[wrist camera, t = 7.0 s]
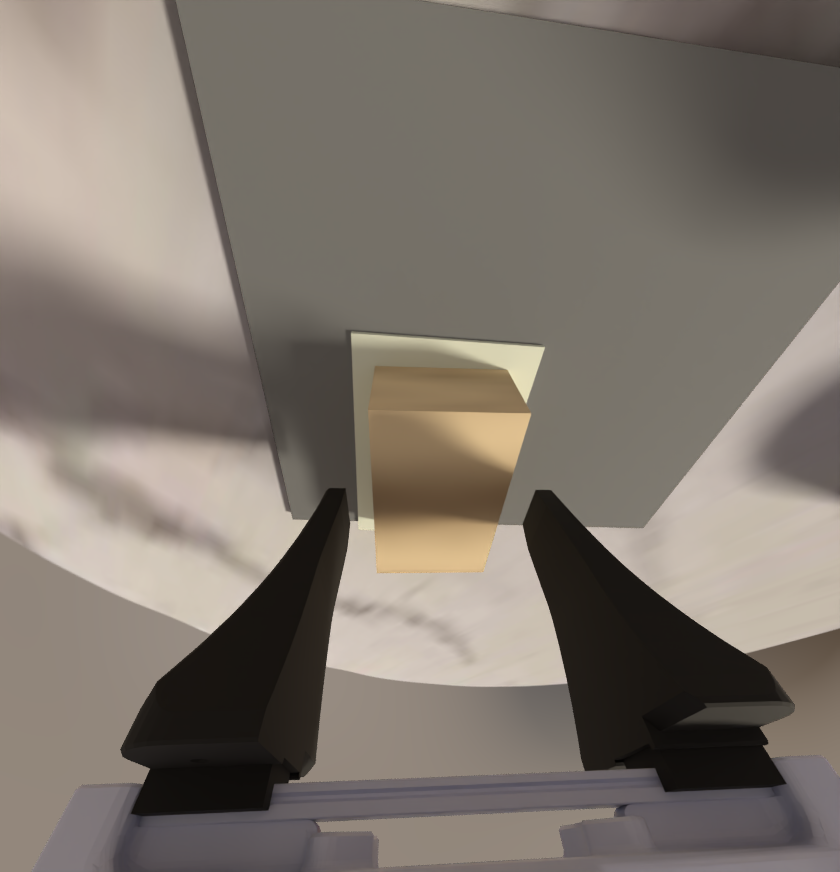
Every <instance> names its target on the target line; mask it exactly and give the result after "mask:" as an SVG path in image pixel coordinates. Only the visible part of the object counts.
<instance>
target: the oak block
mask: <svg viewBox="0 0 840 872" xmlns="http://www.w3.org/2000/svg"><path fill="white" fill-rule="evenodd" d="M530 417H531V412H530V410H529V408H528V406H527V404H526V403H525V401H524V399H523V397H522V395H521V394H520V392H519V390H518V388H517V386H516V385H515V383H514V381H513V379H512V377H511V376H510V374H509V372H508V370H497V369H462V368H427V367H392V366H375V369H374V376H373V382H372V388H371V394H370V401H369V407H368V419H369V438H370V456H371V474H372V492H373V510H374V528H375V546H376V564H377V573H440V572H483V571H484V568H485V564H486V561H487V558H488V555H489V551H490V548H491V545H492V541H493V538H494V535H495V532H496V528H497V525H498V522H499V518H500V515H501V512H502V509H503V505H504V502H505V499H506V495H507V492H508V489H509V486H510V482H511V479H512V476H513V472H514V469H515V466H516V463H517V459H518V456H519V453H520V450H521V446H522V443H523V440H524V436H525V433H526V430H527V427H528V423H529V420H530Z"/></svg>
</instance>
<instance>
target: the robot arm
mask: <svg viewBox="0 0 840 872" xmlns="http://www.w3.org/2000/svg"><path fill="white" fill-rule="evenodd" d="M523 528H524V533H525V537H526V542H527V546H528V550H529V553H530V556H531V559H532V561H533V564H534V567H535V570H536V573H537V576H538V578H539V581H540V584H541V587H542V590H543V592H544V595H545V598H546V601H547V604H548V606H549V610H550V613H551V616H552V619H553V623H554V627H555V631H556V635H557V639H558V643H559V647H560V651H561V656H562V660H563V664H564V669H565V673H566V678H567V683H568V688H569V693H570V697H571V702H572V707H573V713H574V718H575V724H576V730H577V735H578V741H579V748H580V754H581V759H582V763H583V766H584V769H585V771H574V772H550V773H526V774H503V775H478V776H455V777H431V778H407V779H382V780H358V781H334V782H312V783H288V782H289V780H299V779H300V777H304V776H305V775H306V774H307V773H308V772H309V771H310V770H311V768H312V767H313V766H314V764H315V761H316V750H317V740H318V730H319V721H320V711H321V702H322V694H323V685H324V676H325V668H326V660H327V652H328V644H329V637H330V629H331V622H332V616H333V611H334V606H335V602H336V597H337V593H338V588H339V584H340V579H341V575H342V571H343V566H344V562H345V557H346V552H347V547H348V538H349V529H350V518H349V510H348V502H347V494H346V488H329V489H327V490H326V492H325V494H324V496H323V498H322V499H321V501H320V503H319V505H318V506H317V508H316V510H315V511H314V513H313V515H312V516H311V518H310V519H309V521H308V522H307V524H306V525H305V527H304V528H303V530H302V531H301V533H300V534H299V536H298V537H297V539H296V540H295V542H294V543H293V544H292V546H291V547H290V548H289V550H288V551H287V552H286V554H285V555H284V556H283V558H282V559H281V560H280V562H279V563H278V564H277V565H276V566H275V568H274V569H273V570H272V571H271V573H270V574H269V575H268V576H267V577H266V578H265V580H264V581H263V582H262V583H261V584H260V585H259V586H258V588H257V589H256V590H255V591H254V592H253V593H252V594H251V595H250V596H249V597H248V598H247V599H246V601H245V602H244V603H243V604H242V605H241V606H240V607H239V608H238V609H237V610H236V611H235V612H234V613H233V614H232V615H231V616H230V617H229V618H228V619H227V620H226V621H225V622H224V623H223V624H222V625H220V626H219V627H218V628H217V629H216V630H215V631H214V632H213V633H212V634H211V635H210V636H209V637H208V638H207V639H206V640H205V641H204V642H202V643H201V644H200V645H199V646H198V647H197V648H196V649H195V650H193V652H191V653H190V654H189V655H188V656H186V657H185V658H184V659H183V660H182V661H181V662H179V663H178V664H177V665H176V666H175V667H174V668H172V669H171V670H170V671H169V672H168V673H167V674H165V675H164V676H163V677H162V678H161V679H160V680H159V681H157V683H156V684H155V686H154V688H153V689H152V691H151V693H150V694H149V696H148V698H147V699H146V701H145V702H144V704H143V706H142V707H141V709H140V711H139V713H138V715H137V717H136V719H135V721H134V723H133V725H132V727H131V729H130V731H129V733H128V735H127V737H126V739H125V741H124V743H123V745H122V747H121V749H120V750H121V753H122V756H123V757H124V758H126V759H128V760H130V761H133V762H135V763H138V764H140V765H143V766H146V767H148V768H150V770H149V773H148V775H147V777H146V780H145V782H144V784H135V783H118V784H93V785H81V786H80V787H78V788H77V789H76V790H75V792H74V794H73V796H72V797H71V799H70V801H69V803H68V805H67V807H66V808H65V810H64V812H63V814H62V816H61V818H60V820H59V821H58V823H57V825H56V827H55V829H54V831H53V832H52V834H51V836H50V838H49V840H48V842H47V843H46V845H45V847H44V849H43V851H42V853H41V855H40V856H39V858H38V860H37V862H36V864H35V866H34V868H33V869H32V871H31V872H840V777H839V776H838V774H837V773H836V772H835V770H834V769H833V768H832V766H831V765H830V764H829V762H828V761H827V760H826V758H825V757H823V756H821V755H808V756H785V757H776V758H770V757H769V755H768V753H767V752H766V750H765V749H764V747H763V745H767V744H768V740H767V738H766V737H765V735H764V734H763V732H762V731H761V729H760V728H759V727H761V726H763V725H766V724H769V723H771V722H774V721H777V720H779V719H782V718H784V717H786V716H789V715H790V714H792V713H793V712H794V709H795V704H794V703H793V702H792V700H791V699H790V698H789V696H788V695H787V694H786V692H785V691H784V690H783V688H782V687H781V686H780V684H779V683H778V682H777V680H776V679H775V678H774V676H773V675H772V674H771V672H770V671H769V670H768V668H767V667H765V666H764V665H762V664H760V663H759V662H757V661H756V660H754V659H752V658H751V657H749V656H748V655H746V654H744V653H743V652H741V651H739V650H738V649H736V648H735V647H733V646H731V645H730V644H728V643H727V642H725V641H723V640H722V639H720V638H719V637H717V636H716V635H714V634H713V633H711V632H710V631H708V630H707V629H705V628H704V627H703V626H701V625H700V624H698V623H697V622H695V621H694V620H692V619H691V618H690V617H688V616H687V615H685V614H684V613H683V612H681V611H680V610H678V609H677V608H676V607H674V606H673V605H672V604H671V603H669V602H668V601H667V600H665V599H664V598H663V597H661V596H660V595H659V594H657V593H656V592H655V591H654V590H652V589H651V588H650V587H649V586H647V585H646V584H645V583H644V582H643V581H641V580H640V579H639V578H638V577H637V576H636V575H634V574H633V573H632V572H631V571H630V570H629V569H627V568H626V567H625V566H624V565H623V564H622V563H621V562H620V561H619V560H618V559H616V558H615V557H614V556H613V555H612V554H611V553H610V552H609V551H608V550H607V549H606V548H605V547H604V546H603V545H602V544H601V543H600V542H599V541H598V540H597V539H596V538H595V537H594V536H593V535H592V534H591V533H590V532H589V531H588V530H587V529H586V528H585V527H584V526H583V524H582V523H581V522H580V521H579V520H578V519H577V518H576V517H575V516H574V515H573V514H572V513H571V511H570V510H569V509H568V508H567V507H566V506H565V505H564V504H563V503H562V501H561V500H560V499H559V498H558V497H557V496H556V495H555V494H554V493H553V492H552V490H535V492H534V495H533V498H532V500H531V503H530V506H529V508H528V511H527V513H526V516H525V519H524V521H523ZM616 807H619V808H616ZM596 808H616V810H615V812H614V818H605V819H594V820H583V821H582V822H580V823H576V824H571V825H565V826H560V829H559V832H560V836H561V841H562V844H563V849H564V856H563V857H560V858H542V859H524V860H506V861H488V862H471V863H453V864H436V865H418V866H403V867H402V866H401V867H384V868H378V843H379V840H378V838H377V836H374V835H373V833H372V832H321V830H320V827H319V826H318V824H317V823H316V822H326V821H327V822H328V821H348V820H368V819H388V818H409V817H431V816H452V815H471V814H492V813H512V812H533V811H554V810H575V809H596Z"/></svg>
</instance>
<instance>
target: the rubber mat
mask: <svg viewBox="0 0 840 872" xmlns="http://www.w3.org/2000/svg"><path fill="white" fill-rule="evenodd" d="M176 5H177V9H178V14H179V18H180V23H181V27H182V31H183V36H184V40H185V45H186V49H187V54H188V58H189V62H190V67H191V71H192V76H193V80H194V84H195V89H196V93H197V98H198V102H199V107H200V111H201V115H202V120H203V124H204V129H205V133H206V138H207V142H208V146H209V151H210V155H211V160H212V164H213V169H214V173H215V177H216V182H217V186H218V191H219V195H220V200H221V204H222V208H223V213H224V217H225V222H226V226H227V231H228V235H229V239H230V244H231V248H232V253H233V257H234V262H235V266H236V270H237V275H238V279H239V284H240V288H241V293H242V297H243V301H244V306H245V310H246V315H247V319H248V324H249V328H250V332H251V337H252V341H253V346H254V350H255V355H256V359H257V363H258V368H259V372H260V377H261V381H262V386H263V390H264V394H265V399H266V403H267V408H268V412H269V417H270V421H271V425H272V430H273V434H274V439H275V443H276V448H277V452H278V456H279V461H280V465H281V470H282V474H283V479H284V483H285V487H286V492H287V496H288V501H289V505H290V510H291V514H292V518H293V519H301V520H309V519H310V518H311V516H312V515H313V513H314V511H315V510H316V508H317V506H318V505H319V503H320V501H321V499H322V498H323V496H324V494H325V492H326V490H327V489H329V488H346V494H347V502H348V510H349V518H350V521H358V528H359V530H375V528H374V510H373V492H372V474H371V456H370V438H369V419H368V407H369V401H370V394H371V388H372V382H373V376H374V369H375V366H392V367H427V368H462V369H497V370H508V372H509V374H510V376H511V377H512V379H513V381H514V383H515V385H516V386H517V388H518V390H519V392H520V394H521V395H522V397H523V399H524V401H525V403H526V404H527V406H528V408H529V410H530V412H531V417H530V420H529V423H528V427H527V430H526V433H525V436H524V440H523V443H522V446H521V450H520V453H519V456H518V459H517V463H516V466H515V469H514V472H513V476H512V479H511V482H510V486H509V489H508V492H507V495H506V499H505V502H504V505H503V509H502V512H501V515H500V518H499V522H498V525H523V521H524V519H525V516H526V513H527V511H528V508H529V506H530V503H531V500H532V498H533V495H534V492H535V490H552V492H553V493H554V494H555V495H556V496H557V497H558V498H559V499H560V500H561V501H562V503H563V504H564V505H565V506H566V507H567V508H568V509H569V510H570V511H571V513H572V514H573V515H574V516H575V517H576V518H577V519H578V520H579V521H580V522H581V523H582V524H583V526H584V527H616V528H644V526H645V525H646V524H647V523H648V521H649V520H650V519H651V518H652V516H653V515H654V514H655V513H656V511H657V510H658V509H659V508H660V506H661V505H662V504H663V503H664V501H665V500H666V499H667V498H668V496H669V495H670V494H671V493H672V491H673V490H674V489H675V487H676V486H677V485H678V484H679V482H680V481H681V480H682V479H683V477H684V476H685V475H686V474H687V472H688V471H689V470H690V469H691V467H692V466H693V465H694V464H695V462H696V461H697V460H698V459H699V457H700V456H701V455H702V454H703V452H704V451H705V450H706V449H707V447H708V446H709V445H710V444H711V442H712V441H713V440H714V439H715V437H716V436H717V435H718V434H719V432H720V431H721V430H722V429H723V427H724V426H725V425H726V424H727V422H728V421H729V420H730V419H731V417H732V416H733V415H734V414H735V412H736V411H737V410H738V409H739V407H740V406H741V405H742V403H743V402H744V401H745V400H746V398H747V397H748V396H749V395H750V393H751V392H752V391H753V390H754V388H755V387H756V386H757V385H758V383H759V382H760V381H761V380H762V378H763V377H764V376H765V375H766V373H767V372H768V371H769V370H770V368H771V367H772V366H773V365H774V363H775V362H776V361H777V360H778V358H779V357H780V356H781V355H782V353H783V352H784V351H785V350H786V348H787V347H788V346H789V345H790V343H791V342H792V341H793V340H794V338H795V337H796V336H797V335H798V333H799V332H800V331H801V330H802V328H803V327H804V326H805V324H806V323H807V322H808V321H809V319H810V318H811V317H812V316H813V314H814V313H815V312H816V311H817V309H818V308H819V307H820V306H821V304H822V303H823V302H824V301H825V299H826V298H827V297H828V296H829V294H830V293H831V292H832V291H833V289H834V288H835V287H836V286H837V284H838V283H839V282H840V67H834V66H827V65H821V64H815V63H809V62H802V61H796V60H790V59H783V58H777V57H771V56H765V55H758V54H752V53H746V52H739V51H733V50H727V49H721V48H714V47H708V46H702V45H695V44H689V43H683V42H677V41H670V40H664V39H658V38H652V37H645V36H639V35H633V34H626V33H620V32H614V31H608V30H601V29H595V28H589V27H582V26H576V25H570V24H564V23H557V22H551V21H545V20H538V19H532V18H526V17H520V16H513V15H507V14H501V13H494V12H488V11H482V10H476V9H469V8H463V7H457V6H450V5H444V4H438V3H432V2H425V1H419V0H176Z"/></svg>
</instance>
